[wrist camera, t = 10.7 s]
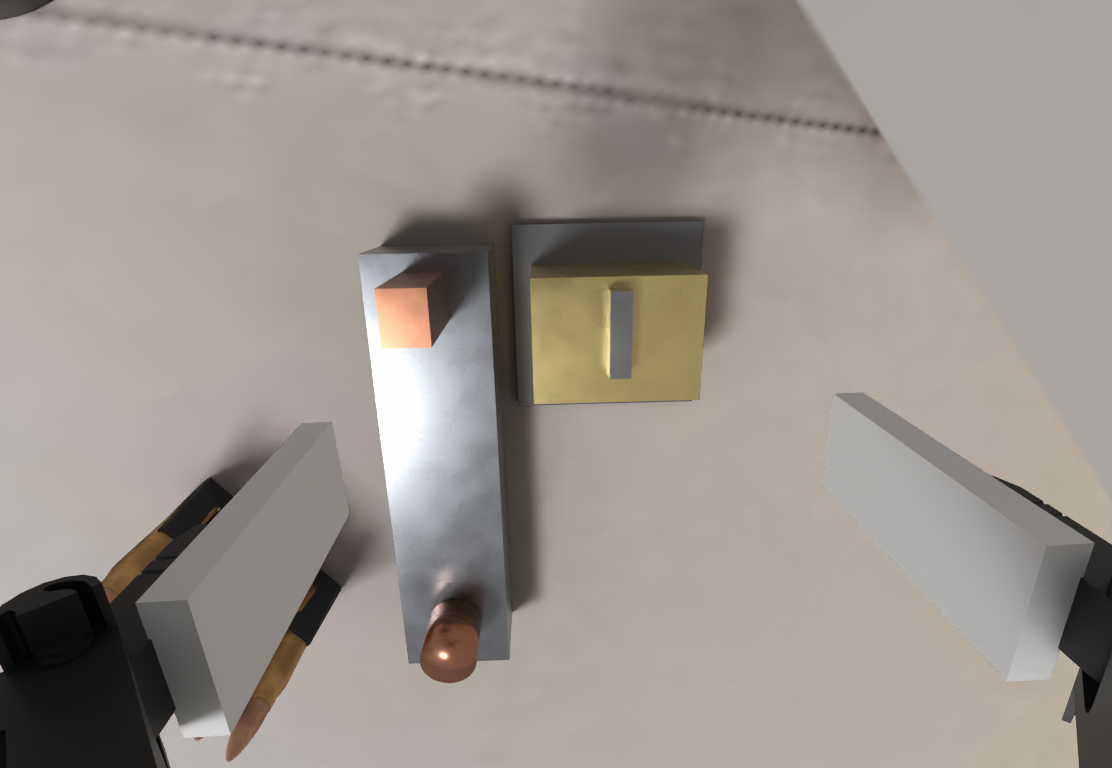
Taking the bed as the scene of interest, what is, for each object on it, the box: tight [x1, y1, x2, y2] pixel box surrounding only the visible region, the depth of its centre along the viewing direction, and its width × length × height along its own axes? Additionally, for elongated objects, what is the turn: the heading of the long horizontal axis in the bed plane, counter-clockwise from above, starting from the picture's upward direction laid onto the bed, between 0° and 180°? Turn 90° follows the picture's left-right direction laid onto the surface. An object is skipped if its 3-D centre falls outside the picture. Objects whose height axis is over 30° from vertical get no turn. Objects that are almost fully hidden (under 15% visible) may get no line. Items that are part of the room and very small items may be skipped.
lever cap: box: [530, 261, 708, 404], centre depth 29 cm, size 6×8×6 cm
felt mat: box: [511, 221, 703, 406], centre depth 32 cm, size 10×10×1 cm
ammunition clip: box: [101, 478, 341, 762], centre depth 30 cm, size 11×2×12 cm, turn 40°
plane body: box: [358, 244, 512, 683], centre depth 30 cm, size 24×6×9 cm, turn 1°
